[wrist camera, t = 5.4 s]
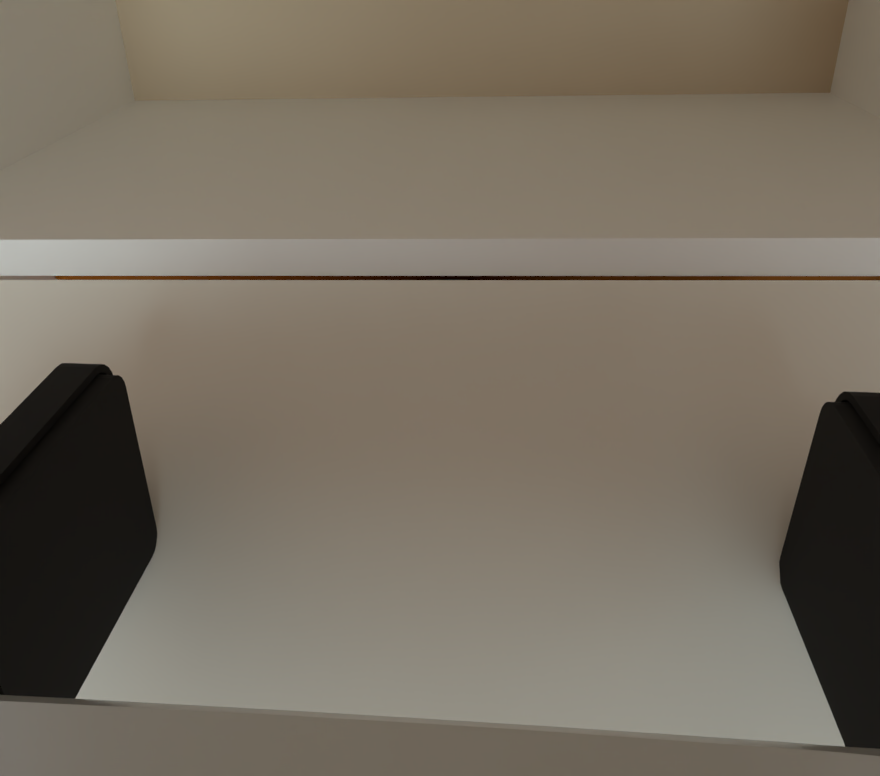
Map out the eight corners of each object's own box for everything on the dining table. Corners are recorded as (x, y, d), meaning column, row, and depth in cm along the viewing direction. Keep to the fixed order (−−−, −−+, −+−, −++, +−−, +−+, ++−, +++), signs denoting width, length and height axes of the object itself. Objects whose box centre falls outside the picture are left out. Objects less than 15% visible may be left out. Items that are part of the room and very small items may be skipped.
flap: (1255, 966, 10) (1221, 949, 11) (1125, 280, 12) (1101, 292, 13) (-273, 899, 11) (-242, 886, 12) (-147, 279, 13) (-125, 291, 14)
